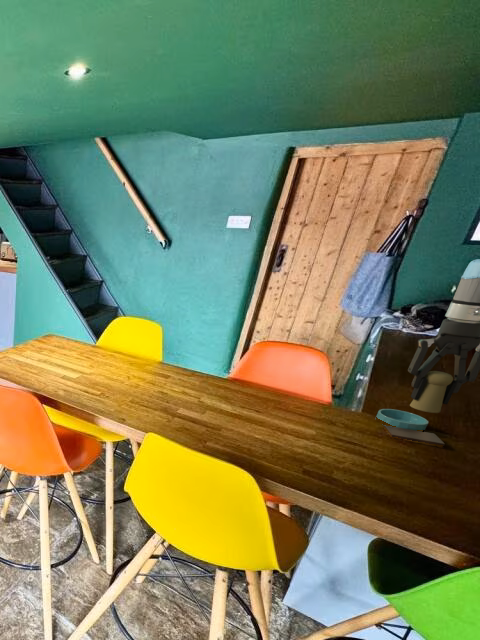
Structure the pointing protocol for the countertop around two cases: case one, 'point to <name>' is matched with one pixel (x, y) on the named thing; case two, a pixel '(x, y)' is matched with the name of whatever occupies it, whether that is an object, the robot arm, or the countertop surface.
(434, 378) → the cork
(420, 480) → the countertop surface
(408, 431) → the board
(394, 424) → the bowl
